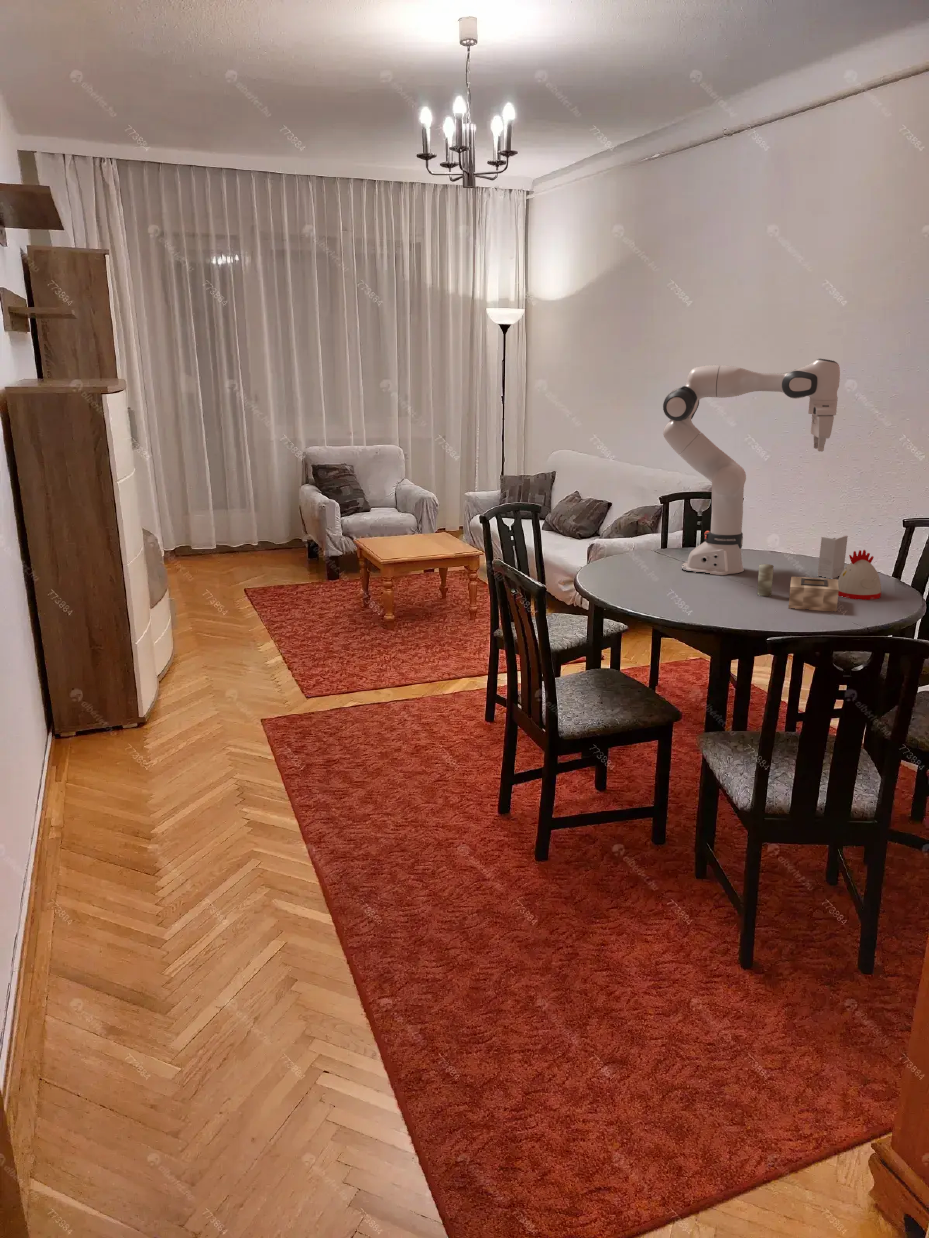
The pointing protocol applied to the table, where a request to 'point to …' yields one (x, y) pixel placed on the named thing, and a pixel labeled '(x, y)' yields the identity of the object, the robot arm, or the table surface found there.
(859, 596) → the kitchen timer
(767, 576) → the peg
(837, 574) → the skincare box
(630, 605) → the table surface
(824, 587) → the birch holder
